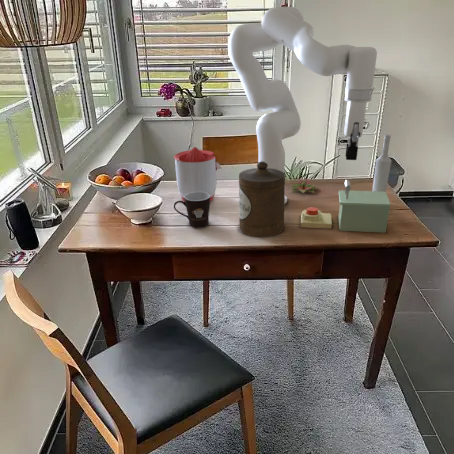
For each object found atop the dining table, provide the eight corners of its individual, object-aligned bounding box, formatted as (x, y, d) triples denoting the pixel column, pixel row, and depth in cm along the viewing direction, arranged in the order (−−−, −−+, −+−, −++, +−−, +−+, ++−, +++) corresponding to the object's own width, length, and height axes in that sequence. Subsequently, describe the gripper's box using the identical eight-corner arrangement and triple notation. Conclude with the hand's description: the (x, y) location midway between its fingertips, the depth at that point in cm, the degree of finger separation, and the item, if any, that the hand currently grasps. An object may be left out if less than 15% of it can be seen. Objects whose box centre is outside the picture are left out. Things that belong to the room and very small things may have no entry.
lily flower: (319, 185, 192) (320, 174, 190) (317, 195, 182) (318, 184, 180) (289, 184, 195) (290, 173, 192) (286, 194, 185) (287, 182, 182)
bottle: (382, 202, 175) (394, 133, 162) (385, 208, 170) (397, 136, 157) (368, 202, 175) (378, 133, 162) (370, 207, 171) (381, 136, 158)
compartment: (339, 230, 155) (342, 205, 150) (338, 217, 164) (341, 192, 160) (385, 232, 153) (390, 206, 148) (381, 218, 162) (385, 194, 158)
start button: (306, 215, 158) (306, 210, 157) (306, 211, 161) (307, 206, 160) (317, 216, 158) (317, 211, 157) (317, 212, 161) (317, 207, 160)
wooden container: (240, 219, 165) (239, 155, 153) (282, 219, 164) (285, 155, 152) (238, 237, 152) (237, 169, 140) (284, 237, 151) (287, 169, 139)
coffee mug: (215, 220, 164) (213, 193, 159) (206, 230, 157) (204, 202, 152) (184, 217, 167) (182, 190, 162) (174, 226, 160) (171, 198, 155)
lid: (339, 204, 150) (341, 188, 147) (338, 192, 160) (340, 176, 157) (390, 206, 148) (393, 190, 145) (385, 193, 158) (388, 178, 155)
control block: (300, 227, 158) (301, 217, 156) (301, 216, 165) (302, 207, 163) (331, 228, 156) (332, 218, 154) (330, 218, 164) (331, 208, 162)
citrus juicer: (225, 205, 176) (224, 151, 165) (178, 208, 174) (174, 154, 163) (219, 191, 189) (218, 140, 179) (176, 194, 187) (172, 143, 177)
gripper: (343, 90, 145) (337, 151, 155) (346, 99, 132) (339, 165, 141) (368, 90, 144) (361, 151, 154) (374, 99, 131) (365, 166, 140)
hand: (350, 157), depth 148 cm, fingers closed
